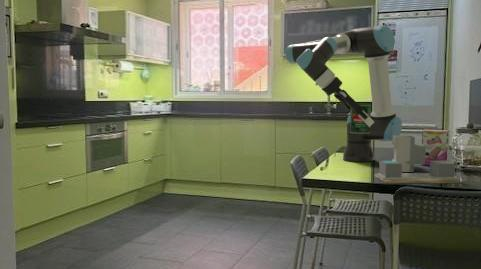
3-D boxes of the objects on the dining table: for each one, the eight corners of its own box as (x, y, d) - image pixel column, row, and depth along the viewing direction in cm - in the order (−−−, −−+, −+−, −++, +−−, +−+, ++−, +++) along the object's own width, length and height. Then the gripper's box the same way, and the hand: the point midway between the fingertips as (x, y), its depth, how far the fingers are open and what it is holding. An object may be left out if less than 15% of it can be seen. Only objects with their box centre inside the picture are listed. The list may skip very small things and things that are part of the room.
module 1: (379, 173, 185) (379, 160, 185) (394, 173, 185) (394, 160, 185) (385, 177, 177) (385, 163, 177) (401, 177, 177) (401, 163, 177)
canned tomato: (355, 133, 181) (356, 105, 180) (346, 132, 189) (346, 104, 188) (374, 133, 184) (374, 105, 183) (363, 131, 191) (364, 104, 190)
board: (374, 176, 188) (374, 174, 188) (444, 176, 188) (444, 173, 188) (385, 183, 174) (385, 180, 174) (460, 182, 174) (460, 180, 174)
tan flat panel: (375, 175, 186) (375, 173, 186) (446, 174, 186) (446, 172, 186) (383, 179, 176) (383, 177, 176) (458, 179, 176) (458, 177, 176)
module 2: (429, 173, 185) (430, 160, 185) (445, 173, 185) (445, 160, 185) (438, 176, 177) (438, 163, 177) (454, 176, 177) (454, 163, 177)
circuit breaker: (429, 173, 196) (430, 137, 195) (393, 172, 199) (394, 136, 198) (425, 170, 204) (426, 135, 202) (391, 169, 206) (392, 135, 205)
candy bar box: (420, 165, 217) (421, 130, 216) (423, 164, 222) (424, 129, 220) (446, 167, 211) (448, 131, 210) (448, 166, 215) (450, 130, 214)
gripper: (317, 89, 195) (355, 128, 196) (326, 89, 175) (368, 132, 176) (330, 76, 195) (368, 115, 196) (341, 74, 174) (383, 118, 175)
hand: (368, 123), depth 186 cm, fingers closed on canned tomato, 8 cm apart
